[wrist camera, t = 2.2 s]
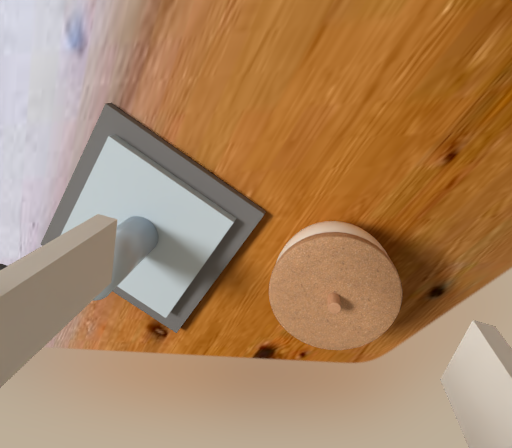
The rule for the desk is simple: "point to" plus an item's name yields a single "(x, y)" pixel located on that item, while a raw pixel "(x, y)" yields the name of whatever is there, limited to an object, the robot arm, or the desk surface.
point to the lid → (150, 224)
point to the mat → (185, 170)
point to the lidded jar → (335, 287)
